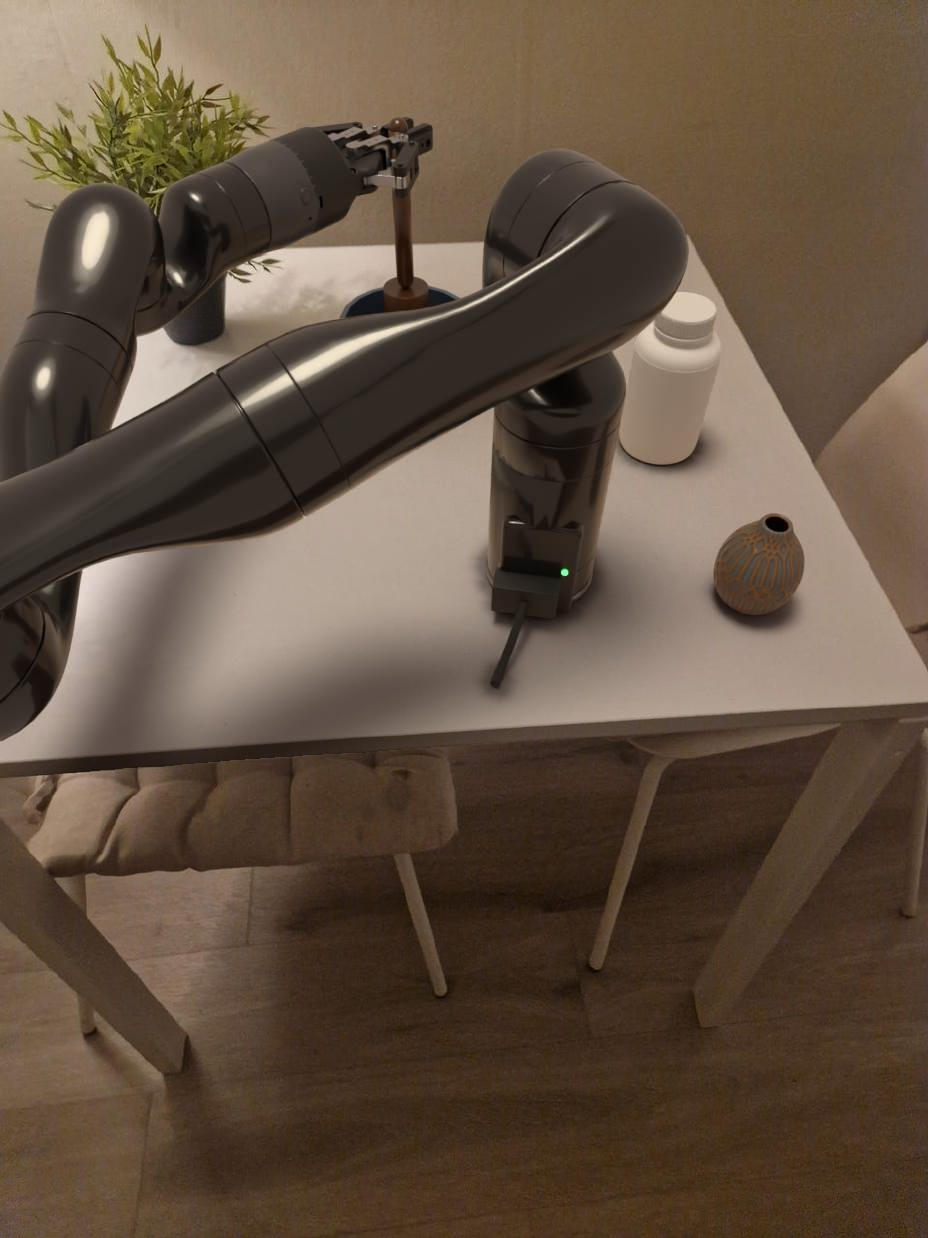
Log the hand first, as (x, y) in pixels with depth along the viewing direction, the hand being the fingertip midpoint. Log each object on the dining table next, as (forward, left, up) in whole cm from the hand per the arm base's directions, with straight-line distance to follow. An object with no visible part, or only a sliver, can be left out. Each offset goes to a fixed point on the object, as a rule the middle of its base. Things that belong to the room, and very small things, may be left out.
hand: (420, 132), depth 75 cm
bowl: (-4, +1, -23) cm, 23 cm away
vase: (-33, -35, -23) cm, 53 cm away
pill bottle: (-13, -27, -23) cm, 37 cm away
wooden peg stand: (-3, +2, -17) cm, 17 cm away
